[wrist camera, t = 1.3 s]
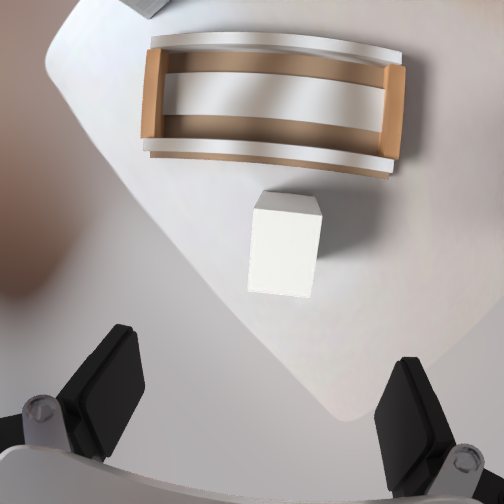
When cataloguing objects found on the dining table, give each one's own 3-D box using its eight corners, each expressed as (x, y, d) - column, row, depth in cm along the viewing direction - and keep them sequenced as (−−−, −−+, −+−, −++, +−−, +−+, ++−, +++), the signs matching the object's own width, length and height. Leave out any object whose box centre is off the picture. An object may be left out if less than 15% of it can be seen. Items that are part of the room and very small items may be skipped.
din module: (315, 196, 27) (322, 215, 21) (306, 263, 29) (309, 299, 23) (262, 190, 28) (253, 208, 21) (257, 257, 30) (247, 292, 23)
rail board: (393, 56, 22) (408, 45, 18) (383, 177, 26) (397, 183, 22) (165, 40, 24) (147, 29, 20) (156, 156, 28) (137, 160, 24)
